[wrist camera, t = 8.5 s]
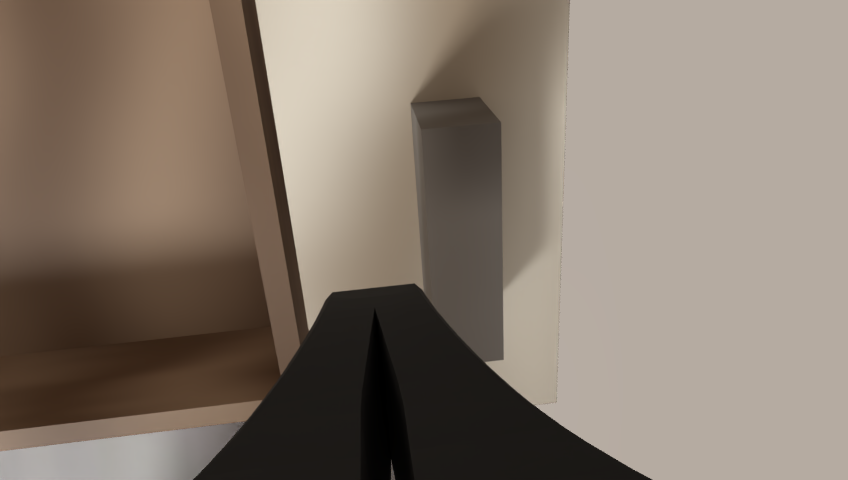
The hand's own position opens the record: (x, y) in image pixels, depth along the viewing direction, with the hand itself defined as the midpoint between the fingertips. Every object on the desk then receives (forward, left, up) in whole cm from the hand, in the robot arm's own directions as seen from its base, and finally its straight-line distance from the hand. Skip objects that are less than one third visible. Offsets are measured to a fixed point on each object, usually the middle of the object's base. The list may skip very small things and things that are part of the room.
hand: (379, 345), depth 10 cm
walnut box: (+6, +5, -9) cm, 12 cm away
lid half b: (-1, -1, -5) cm, 5 cm away
